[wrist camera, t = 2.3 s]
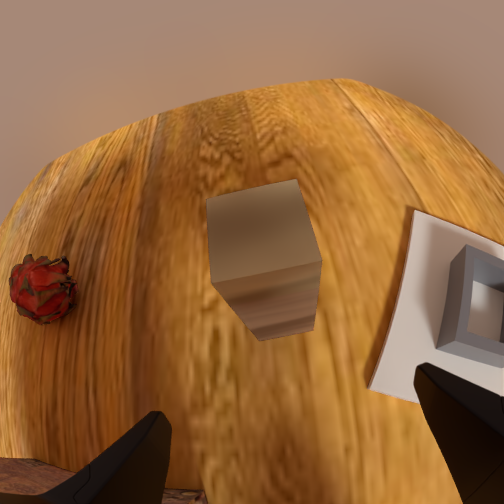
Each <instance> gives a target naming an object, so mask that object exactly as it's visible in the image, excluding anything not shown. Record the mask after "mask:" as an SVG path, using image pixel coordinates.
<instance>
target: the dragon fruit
mask: <svg viewBox="0 0 504 504" xmlns="http://www.w3.org/2000/svg"><path fill="white" fill-rule="evenodd" d="M61 258H62V261H61V262H60V263H58V264H55V265H52V266H49V265H51V264H52V263H55V262H57V261H59V260H60V259H55V260H53V261H50V260H49V259H48V257H47V256H41V257H40V258H39V259H37V260H36V261H34V259H33V257H32V254H28V255H26V256H25V257H24V260H23V264H17V265H15V266H14V267H13V269H12V271H11V277H10V278H9V285H10V297H11V300H12V302H14V303H16V306H17V312H18V313H19V314H20V315H23V316H24V317H28V318H29V319H31V320H33V321H35V322H36V323H38V324H39V325H43V324H50V321H52V320H54V319H56V318H58V317H62V316H63V315H67V314H68V313H69V312H71V311H72V310H73V309H74V308H75V306H76V304H71V302H69V301H70V298H72V297H73V296H74V295H75V294H77V293H78V292H79V290H78V287H77V283H76V280H72V279H71V278H72V277H70V276H69V275H67V273H68V272H69V270H68V269H69V261H68V260H67V258H66V257H65V256H62V257H61Z"/></svg>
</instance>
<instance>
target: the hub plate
mask: <svg viewBox="0 0 504 504" xmlns="http://www.w3.org/2000/svg"><path fill="white" fill-rule="evenodd" d="M424 362H429V363H431V364H433V365H435V366H437V367H439V368H442V369H444V370H446V371H448V372H450V373H452V374H455V375H457V376H459V377H461V378H463V379H465V380H468V381H470V382H472V383H474V384H477V385H479V386H481V387H483V388H485V389H488V390H490V391H492V392H494V393H497V394H499V395H500V396H504V246H502V245H499V244H497V243H495V242H493V241H491V240H489V239H486V238H484V237H482V236H480V235H477V234H475V233H473V232H470V231H468V230H466V229H463V228H461V227H458V226H456V225H454V224H451V223H449V222H446V221H443V220H441V219H438V218H436V217H433V216H430V215H428V214H425V213H422V212H419V211H417V210H415V211H414V213H413V215H412V222H411V228H410V235H409V241H408V247H407V253H406V258H405V263H404V268H403V273H402V277H401V282H400V286H399V290H398V294H397V298H396V302H395V306H394V310H393V314H392V317H391V321H390V324H389V327H388V331H387V334H386V337H385V340H384V344H383V347H382V350H381V353H380V355H379V358H378V361H377V364H376V367H375V369H374V372H373V375H372V377H371V380H370V383H369V385H368V388H367V389H369V390H372V391H375V392H379V393H382V394H385V395H389V396H392V397H396V398H399V399H403V400H407V401H411V402H414V403H418V404H420V402H419V399H418V397H417V394H416V391H415V389H414V385H413V381H414V375H415V369H416V366H417V365H419V364H422V363H424Z"/></svg>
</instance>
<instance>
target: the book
mask: <svg viewBox="0 0 504 504" xmlns="http://www.w3.org/2000/svg"><path fill="white" fill-rule="evenodd" d="M75 474H76V473H75V472H72V471H68V470H65V469H62V468H59V467H56V466H53V465H50V464H47V463H44V462H42V461H39V460H36V459H23V458H2V457H0V492H3V493H12V494H23V495H38V494H42V493H45V492H47V491H48V490H50V489H52V488H54V487H55V486H57V485H59V484H60V483H62V482H64V481H65V480H67V479H68V478H70V477H72V476H73V475H75ZM162 504H207V501H206V498H205V494H204V490H187V489H167V488H164V493H163V498H162Z"/></svg>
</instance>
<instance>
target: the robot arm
mask: <svg viewBox="0 0 504 504" xmlns="http://www.w3.org/2000/svg"><path fill="white" fill-rule="evenodd" d="M413 385H414V389H415V391H416V394H417V397H418V399H419V402H420V405H421V408H422V410H423V413H424V416H425V419H426V421H427V423H428V425H429V427H430V429H431V431H432V433H433V435H434V438H435V440H436V442H437V444H438V446H439V448H440V450H441V452H442V455H443V457H444V459H445V461H446V463H447V466H448V468H449V470H450V473H451V475H452V477H453V480H454V482H455V485H456V487H457V489H458V492H459V494H460V497H461V500H462V502H463V504H504V396H500V395H499V394H497V393H494V392H492V391H490V390H488V389H485V388H483V387H481V386H479V385H477V384H474V383H472V382H470V381H468V380H465V379H463V378H461V377H459V376H457V375H455V374H452V373H450V372H448V371H446V370H444V369H442V368H439V367H437V366H435V365H433V364H431V363H429V362H424V363H422V364H419V365H417V366H416V369H415V375H414V381H413ZM171 435H172V427H171V424H170V423H169V421H168V420H167V418H166V416H165V415H164V413H163V412H161V411H151V412H149V413H148V414H147V415H146V416H145V417H144V418H143V419H141V420H140V421H139V422H138V423H137V424H136V425H135V426H133V427H132V428H131V429H130V430H129V431H128V432H126V433H125V434H124V435H123V436H122V437H121V438H119V439H118V440H117V441H116V442H115V443H114V444H112V445H111V446H110V447H109V448H108V449H106V450H105V451H104V452H103V453H101V454H100V455H99V456H98V457H97V458H95V459H94V460H93V461H92V462H90V464H88V465H86V466H85V467H84V468H83V469H81V470H80V471H79V472H77V473H76V474H75V475H73V476H72V477H70V478H68V479H67V480H65V481H64V482H62V483H60V484H59V485H57V486H55V487H54V488H52V489H50V490H48V491H47V492H45V493H42V494H38V495H23V494H12V493H3V492H0V504H162V498H163V493H164V488H165V482H166V477H167V472H168V467H169V460H170V447H171Z"/></svg>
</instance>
